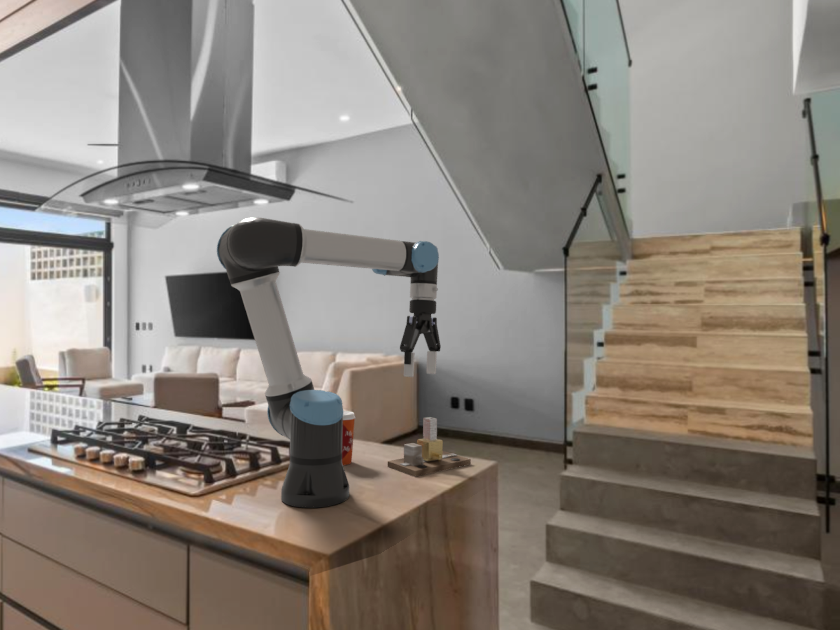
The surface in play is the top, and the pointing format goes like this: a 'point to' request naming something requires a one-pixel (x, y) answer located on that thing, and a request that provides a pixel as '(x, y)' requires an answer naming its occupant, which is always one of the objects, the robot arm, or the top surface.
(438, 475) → the top surface
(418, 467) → the assembly board
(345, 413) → the paper cup
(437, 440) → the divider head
